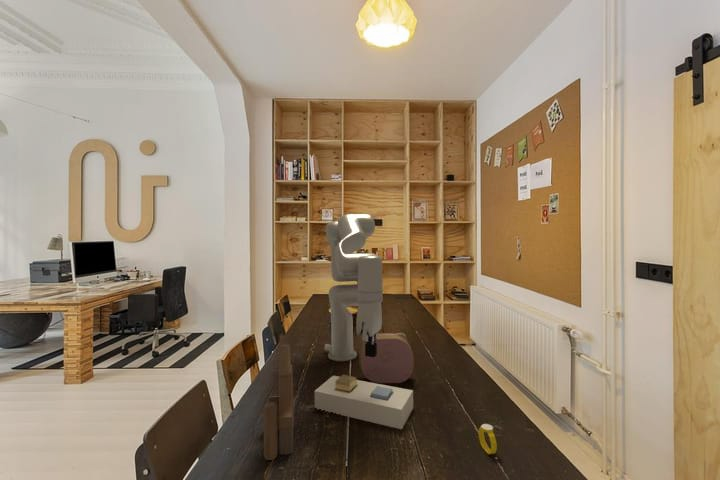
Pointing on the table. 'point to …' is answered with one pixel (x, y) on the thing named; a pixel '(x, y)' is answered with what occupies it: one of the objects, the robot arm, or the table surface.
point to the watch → (489, 430)
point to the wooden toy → (280, 411)
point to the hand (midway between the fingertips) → (371, 355)
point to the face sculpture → (388, 359)
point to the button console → (366, 403)
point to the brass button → (346, 383)
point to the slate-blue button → (381, 393)
